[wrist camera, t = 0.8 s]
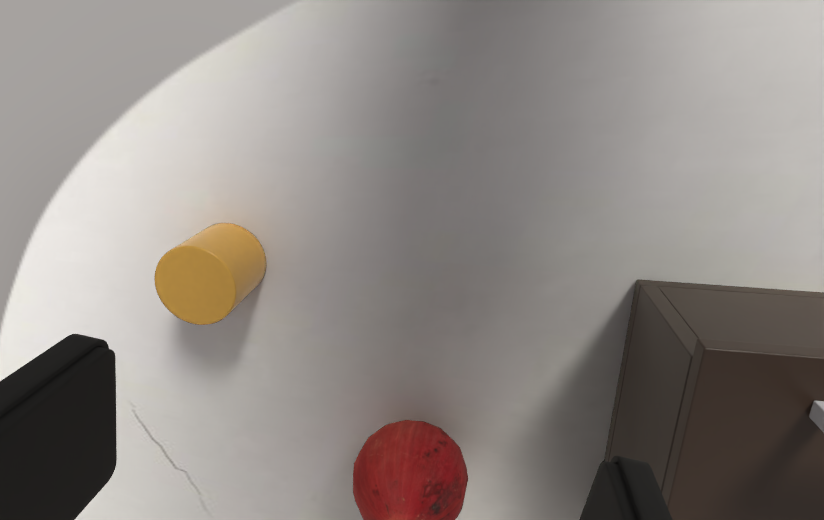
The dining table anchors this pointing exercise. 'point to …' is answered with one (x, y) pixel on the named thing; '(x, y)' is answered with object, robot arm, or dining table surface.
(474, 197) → the dining table surface
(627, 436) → the dark brown wooden crate
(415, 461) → the red fruit
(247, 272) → the pod
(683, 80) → the dining table surface
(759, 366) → the wooden box lid
